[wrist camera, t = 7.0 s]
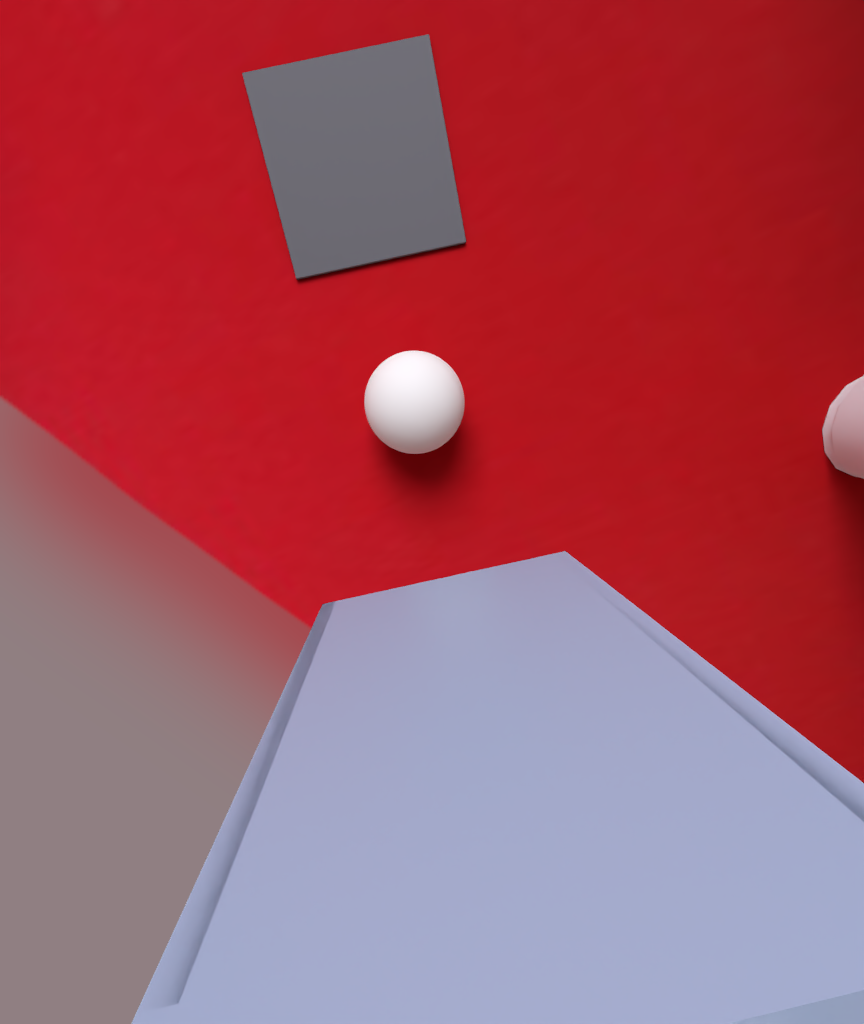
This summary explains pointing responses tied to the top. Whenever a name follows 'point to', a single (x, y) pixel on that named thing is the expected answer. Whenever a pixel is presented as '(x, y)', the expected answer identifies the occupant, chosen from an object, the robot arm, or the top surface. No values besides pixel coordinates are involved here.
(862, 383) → the foam cup
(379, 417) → the ball
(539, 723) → the periwinkle rectangular block
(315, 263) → the tape square
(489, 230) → the top surface
